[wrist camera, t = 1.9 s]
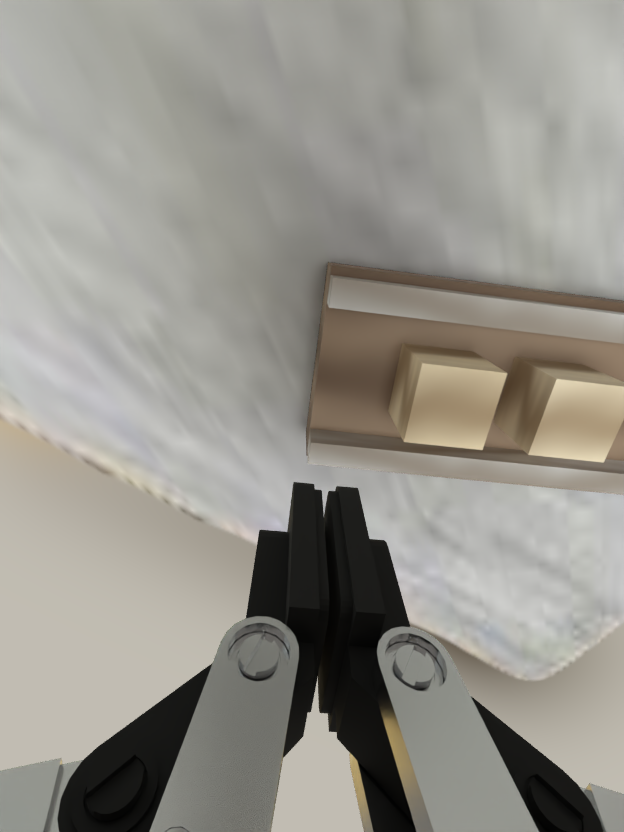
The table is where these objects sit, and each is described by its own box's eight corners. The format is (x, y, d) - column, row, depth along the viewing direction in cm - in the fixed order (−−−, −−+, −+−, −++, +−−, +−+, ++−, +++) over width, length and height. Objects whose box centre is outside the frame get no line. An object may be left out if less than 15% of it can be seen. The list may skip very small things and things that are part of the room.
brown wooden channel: (327, 262, 26) (334, 267, 20) (648, 304, 27) (735, 319, 22) (306, 430, 31) (306, 471, 25) (581, 458, 32) (638, 503, 27)
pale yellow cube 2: (515, 356, 25) (556, 378, 21) (583, 364, 25) (638, 388, 21) (493, 422, 26) (528, 454, 22) (557, 429, 27) (603, 462, 23)
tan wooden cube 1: (402, 343, 24) (422, 363, 20) (473, 351, 24) (507, 373, 20) (388, 410, 26) (403, 441, 22) (454, 418, 26) (482, 450, 22)
